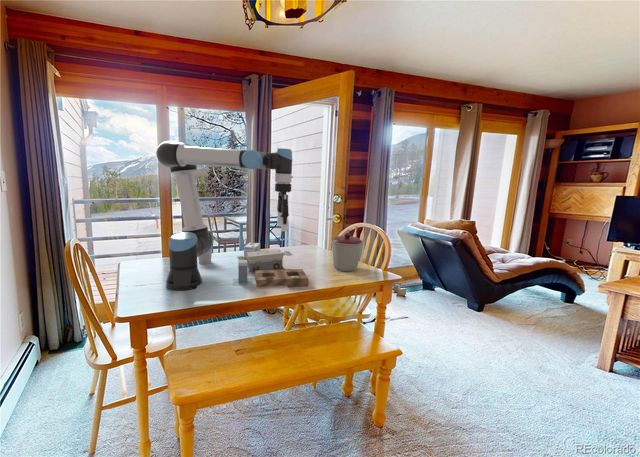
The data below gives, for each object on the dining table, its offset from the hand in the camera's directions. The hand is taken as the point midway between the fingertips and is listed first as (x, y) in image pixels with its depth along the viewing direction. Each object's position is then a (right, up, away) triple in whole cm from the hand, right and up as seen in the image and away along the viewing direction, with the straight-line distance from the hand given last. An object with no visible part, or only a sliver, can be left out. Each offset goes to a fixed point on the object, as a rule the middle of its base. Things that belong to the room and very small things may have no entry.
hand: (282, 228), depth 154 cm
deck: (-19, -26, 0) cm, 32 cm away
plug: (-19, -25, 0) cm, 31 cm away
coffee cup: (-47, -19, +30) cm, 59 cm away
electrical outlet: (-12, -23, +22) cm, 34 cm away
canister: (+32, -23, +31) cm, 50 cm away
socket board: (-1, -26, +5) cm, 27 cm away
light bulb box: (-21, -20, +34) cm, 45 cm away
